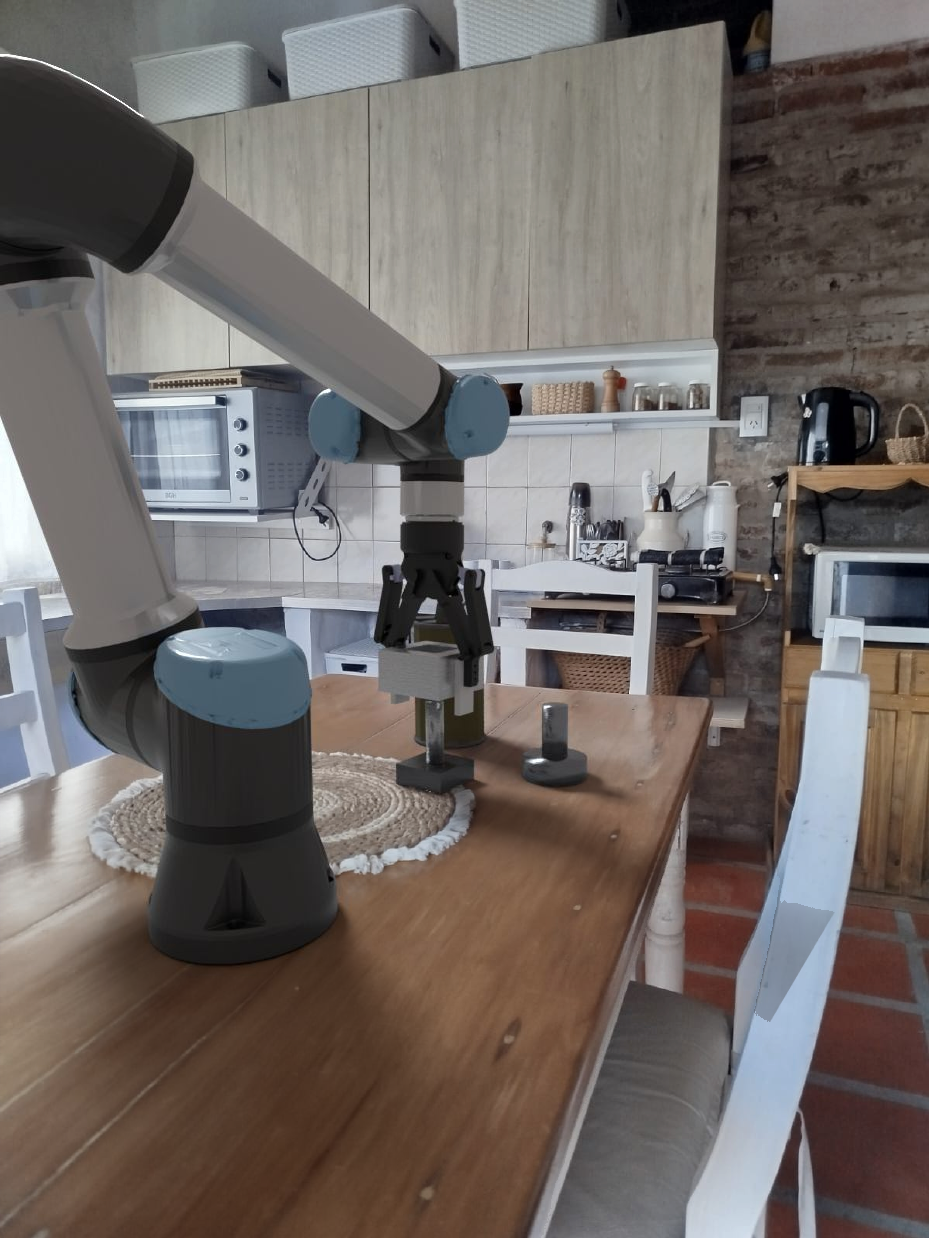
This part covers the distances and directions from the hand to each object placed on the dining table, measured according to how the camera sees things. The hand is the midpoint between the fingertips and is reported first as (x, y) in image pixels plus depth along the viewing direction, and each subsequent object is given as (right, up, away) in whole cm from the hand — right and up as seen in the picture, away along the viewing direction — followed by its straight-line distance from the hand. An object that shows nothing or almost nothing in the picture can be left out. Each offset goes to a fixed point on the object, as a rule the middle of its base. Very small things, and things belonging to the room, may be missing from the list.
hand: (431, 707), depth 102 cm
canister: (+2, -7, +20) cm, 22 cm away
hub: (+15, -9, +3) cm, 18 cm away
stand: (0, -9, +2) cm, 9 cm away
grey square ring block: (0, +2, 0) cm, 2 cm away
